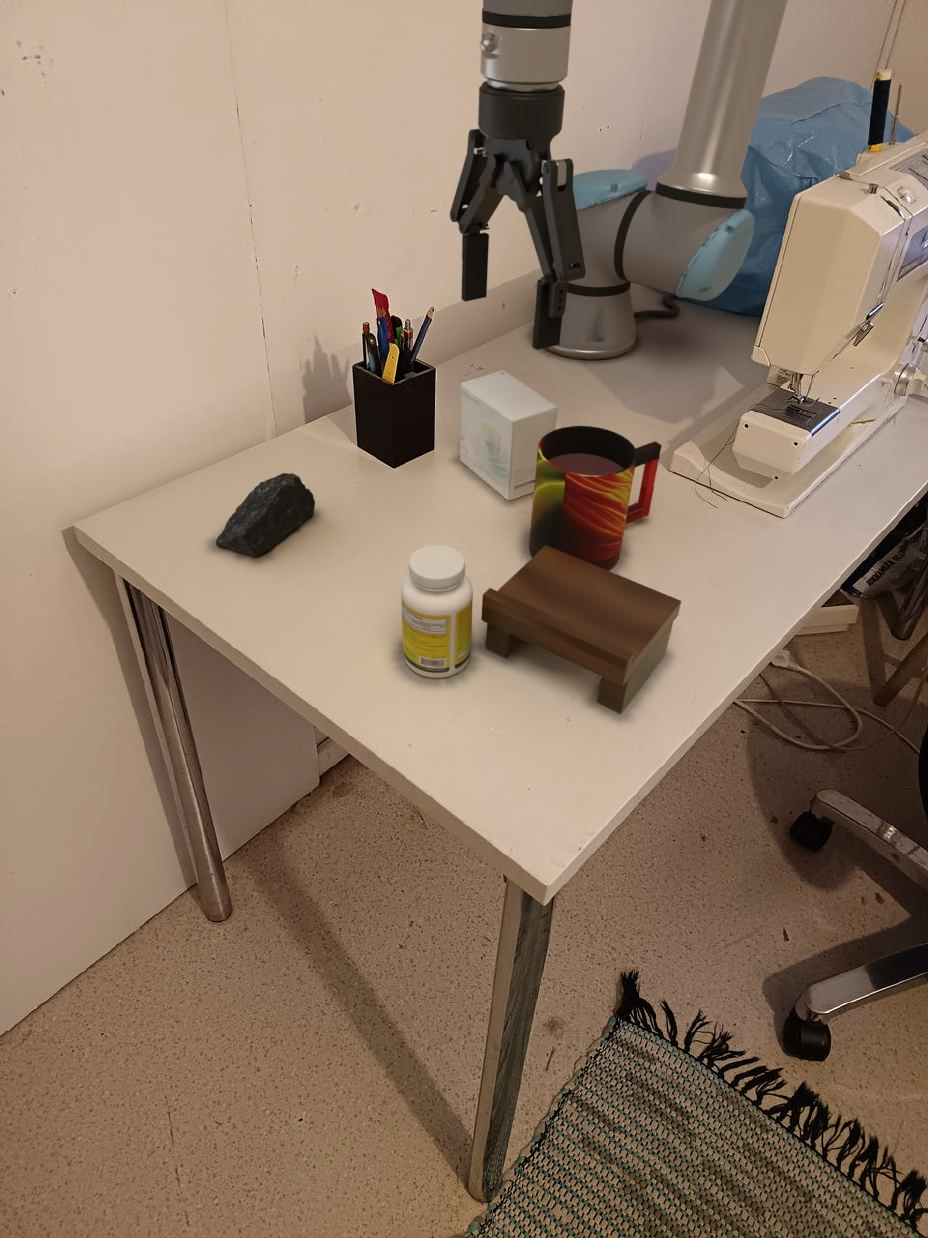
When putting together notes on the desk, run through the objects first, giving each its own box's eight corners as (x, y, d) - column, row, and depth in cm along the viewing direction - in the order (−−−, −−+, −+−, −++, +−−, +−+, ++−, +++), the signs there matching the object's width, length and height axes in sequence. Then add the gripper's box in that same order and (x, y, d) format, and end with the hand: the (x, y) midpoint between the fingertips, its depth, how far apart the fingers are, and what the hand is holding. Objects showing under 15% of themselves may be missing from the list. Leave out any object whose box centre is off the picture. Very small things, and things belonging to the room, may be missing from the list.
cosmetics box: (456, 461, 106) (458, 380, 99) (500, 447, 108) (505, 367, 102) (506, 503, 99) (512, 419, 92) (551, 487, 102) (560, 405, 95)
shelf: (540, 593, 87) (546, 534, 83) (669, 650, 81) (684, 590, 77) (479, 654, 80) (482, 594, 76) (615, 721, 75) (628, 660, 70)
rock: (206, 546, 92) (196, 499, 88) (264, 498, 99) (257, 453, 95) (261, 565, 89) (254, 518, 86) (317, 515, 96) (312, 469, 93)
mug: (648, 522, 97) (667, 425, 89) (597, 589, 88) (614, 487, 80) (569, 496, 101) (581, 400, 93) (513, 558, 92) (520, 457, 84)
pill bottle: (452, 626, 83) (454, 531, 76) (482, 667, 79) (487, 571, 72) (392, 645, 81) (388, 549, 74) (420, 689, 77) (419, 592, 70)
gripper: (416, 60, 82) (418, 286, 96) (572, 115, 66) (547, 376, 80) (483, 55, 85) (476, 275, 99) (648, 106, 69) (612, 360, 83)
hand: (508, 321), depth 90 cm, fingers open, 13 cm apart
